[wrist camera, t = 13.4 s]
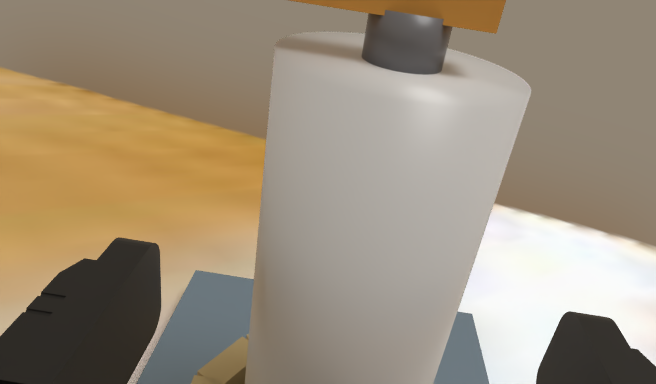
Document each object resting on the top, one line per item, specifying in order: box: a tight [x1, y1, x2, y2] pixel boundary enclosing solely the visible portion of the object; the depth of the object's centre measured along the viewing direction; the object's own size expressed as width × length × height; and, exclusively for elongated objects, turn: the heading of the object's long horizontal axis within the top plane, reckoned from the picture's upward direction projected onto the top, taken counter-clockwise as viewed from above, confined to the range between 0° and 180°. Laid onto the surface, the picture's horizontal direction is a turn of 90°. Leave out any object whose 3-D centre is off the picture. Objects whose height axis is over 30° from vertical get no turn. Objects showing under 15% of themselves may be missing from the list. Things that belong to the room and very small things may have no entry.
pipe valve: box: [245, 0, 531, 384], centre depth 13 cm, size 7×5×16 cm
